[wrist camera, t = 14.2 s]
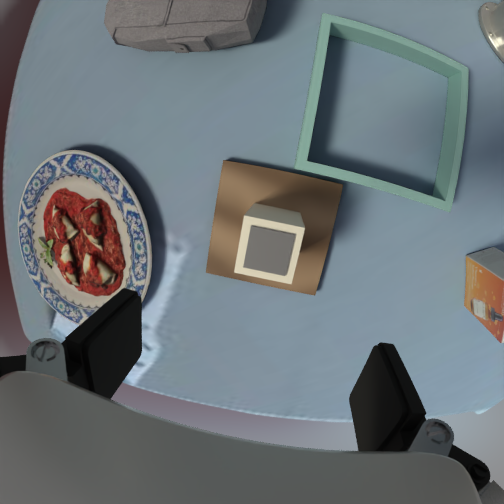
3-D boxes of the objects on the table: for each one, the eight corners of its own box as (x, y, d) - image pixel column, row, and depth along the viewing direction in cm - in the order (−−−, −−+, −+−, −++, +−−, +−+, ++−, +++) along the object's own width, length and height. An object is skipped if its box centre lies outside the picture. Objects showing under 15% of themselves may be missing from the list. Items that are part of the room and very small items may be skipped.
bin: (319, 26, 25) (322, 13, 22) (454, 74, 24) (468, 68, 21) (293, 168, 31) (294, 168, 27) (436, 207, 30) (450, 212, 27)
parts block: (254, 202, 31) (243, 215, 24) (300, 212, 31) (305, 228, 23) (246, 247, 33) (233, 273, 25) (290, 256, 33) (291, 285, 25)
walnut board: (225, 160, 31) (223, 160, 30) (341, 184, 31) (343, 184, 30) (208, 269, 35) (205, 272, 34) (314, 291, 35) (315, 295, 34)
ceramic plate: (162, 147, 32) (151, 145, 29) (162, 338, 39) (154, 349, 37) (24, 155, 34) (12, 156, 31) (38, 303, 41) (27, 310, 39)
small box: (464, 254, 31) (510, 284, 21) (493, 245, 30) (539, 271, 20) (462, 307, 33) (500, 345, 23) (490, 296, 32) (529, 330, 22)
